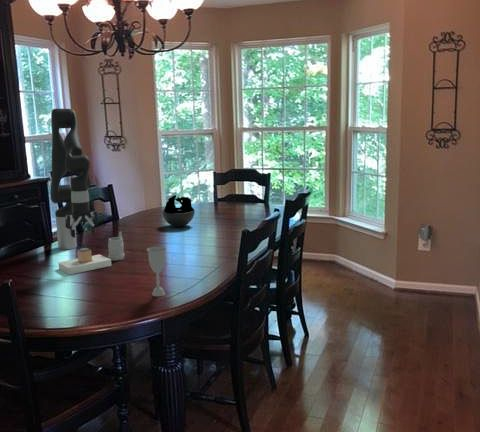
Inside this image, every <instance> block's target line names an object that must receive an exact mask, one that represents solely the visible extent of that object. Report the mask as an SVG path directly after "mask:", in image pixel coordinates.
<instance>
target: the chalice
mask: <svg viewBox="0 0 480 432" xmlns="http://www.w3.org/2000/svg"><path fill="white" fill-rule="evenodd" d="M166 249H167V247H164V246H152V247H148V248H146V251H147V255H148V257H147V258H148V263H149V266H150V268H151V269H152V271H153V272H154V273H155V274H156V275H155V279H156V281H155V283H156V287H155V288H154V289H153V291H152V293H151V296H153V297H162V296H163V297H164V296H165V295H166V292H165V290H164V289H163V287H161V286H160V283H161V281H160V278H161V276H160V273H161V272H162V270H163V268H164V266H165V263H166Z"/></svg>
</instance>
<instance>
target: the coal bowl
mask: <svg viewBox="0 0 480 432" xmlns="http://www.w3.org/2000/svg"><path fill="white" fill-rule="evenodd" d="M176 201H177V202H179V204H180V205H181V206H179V207H177V206H176V204H175V203H176ZM195 212H196V211H195V208H193V205H192V199H191V198H189V197H187V196H180V197H177V194H174V195H172V196H171V197H169V198H168V199H167V202H166V203H165V206H164V209H163V210H162V211H161V214H162V217H163V219H164V221H165V222H166V223H167V224H168V225H170V226H172V227H175V228H176V227H177V228H180V227H185V226H187V225H188V224H190V223H191V222H192V220H193V219H194V216H195V214H196V213H195Z"/></svg>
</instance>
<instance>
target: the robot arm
mask: <svg viewBox="0 0 480 432" xmlns="http://www.w3.org/2000/svg"><path fill="white" fill-rule="evenodd" d="M50 118H51V139H52V141H51V142H52V143H51V181H50V194H49V195H50V200H51V202H52V203H53V204H64V205H63V206H62V207H60V208H58V209H56V210H55V213H54V214H55V223H56V225H55V227H56V236H57V247H58V248H57V249H58V250H65V251H67V250H72V249H76V248H77V234H76V227H77V226H78V224H84V223H87V224H88V225H89V235H94V234H95V226H96V225H99V220H98V212H97V211H94V210H93V211H91V209H90V208H91V207H90V195H89V188H88V186H89V185H88V177H89V172H90V167H91V160H90V157H88V156H87V155H83V148H82V144H81V141H80V137H79V136H80V135H79V126H78V119H77V114H76V111H75V110H74V109H73V108H53V109H52V110H51V117H50ZM60 129H70V130H69V132H68V133H67V134H66V135H65V137H64V139H63V137H62V134H61V132H60ZM68 172H69V173H77V172H78V173H79V172H81V173H80V175H78V176H73V177H71V178H70V184H60V183H61V180H62V179H63V177H64V176H65V175H66V173H68ZM91 217H92V220H91V219H90V218H91Z"/></svg>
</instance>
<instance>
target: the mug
mask: <svg viewBox="0 0 480 432" xmlns="http://www.w3.org/2000/svg"><path fill="white" fill-rule="evenodd" d="M122 235H123V234H122V231H118V237H117V236H116V237H115V236H113V237H111V238H108V245H107V248H108V254H107V258H109V259H111V261H113V262H114V261H116V262H117V261H121V260H124V258H125V256H126V255H125V252H124V250H125V249H124V247H125V244H124V238H123V236H122Z"/></svg>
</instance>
